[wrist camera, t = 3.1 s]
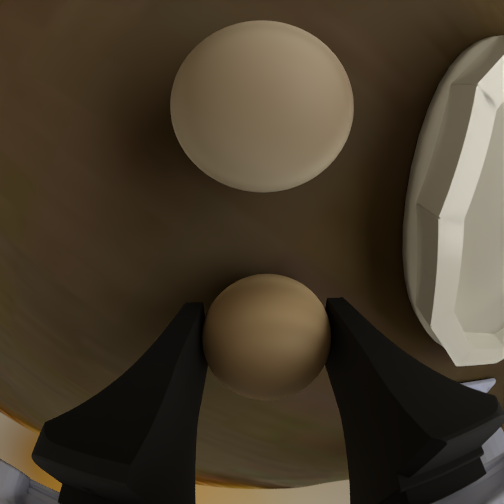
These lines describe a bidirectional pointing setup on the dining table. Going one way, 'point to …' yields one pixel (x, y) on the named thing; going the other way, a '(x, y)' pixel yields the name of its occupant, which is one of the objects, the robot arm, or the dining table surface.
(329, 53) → the bead birch
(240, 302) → the bead oak
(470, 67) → the tray
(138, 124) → the dining table surface
